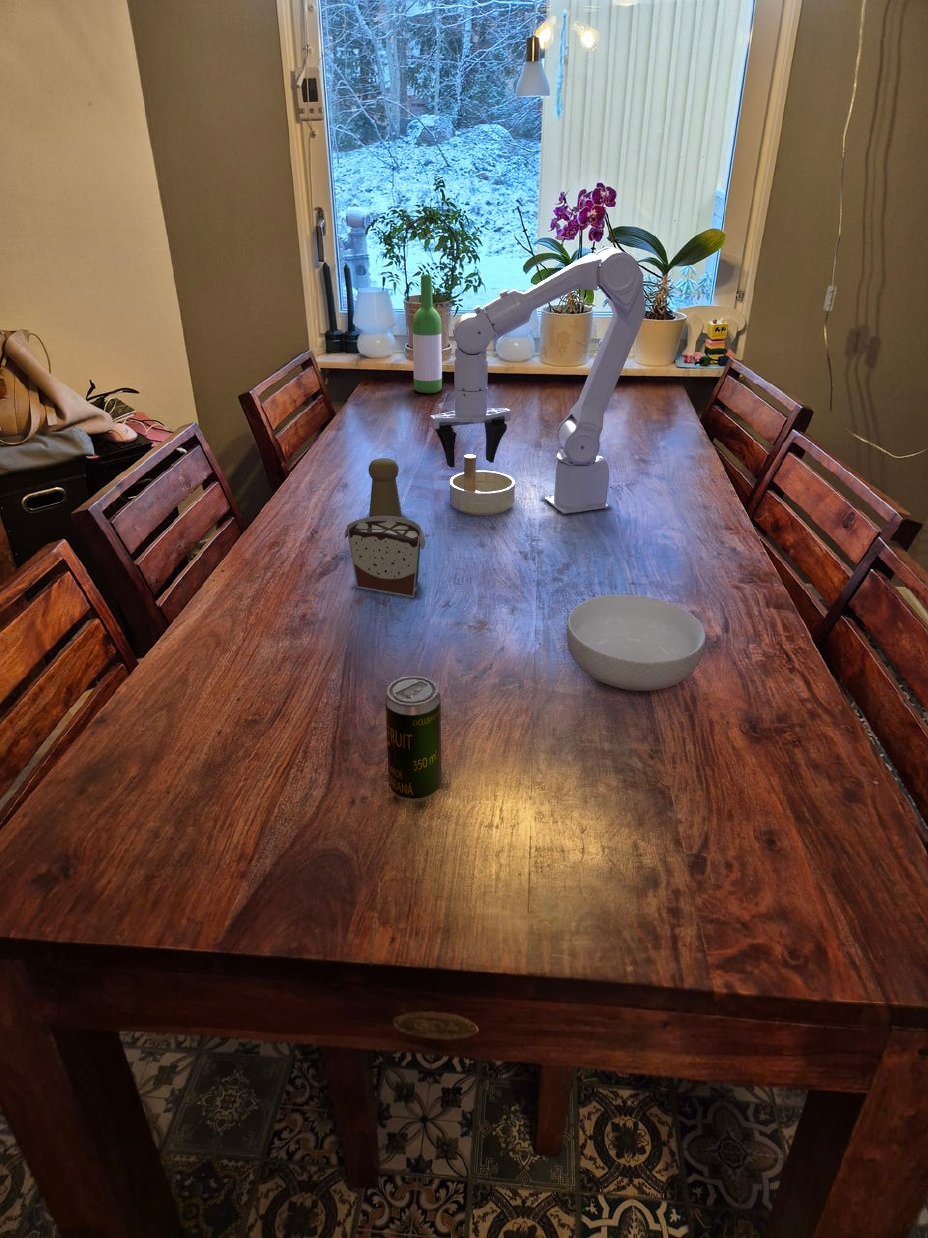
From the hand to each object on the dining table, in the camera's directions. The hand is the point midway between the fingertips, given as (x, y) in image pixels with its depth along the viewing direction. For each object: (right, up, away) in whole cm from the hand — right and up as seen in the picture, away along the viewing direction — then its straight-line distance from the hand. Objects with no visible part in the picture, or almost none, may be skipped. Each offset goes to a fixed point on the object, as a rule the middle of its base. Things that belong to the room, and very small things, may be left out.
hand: (470, 463), depth 148 cm
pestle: (0, -7, +4) cm, 8 cm away
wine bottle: (-11, +35, +80) cm, 88 cm away
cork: (-15, -11, -2) cm, 19 cm away
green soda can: (-6, -46, -64) cm, 79 cm away
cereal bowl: (+20, -35, -45) cm, 61 cm away
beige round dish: (+2, -7, +5) cm, 9 cm away
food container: (-12, -23, -24) cm, 35 cm away
